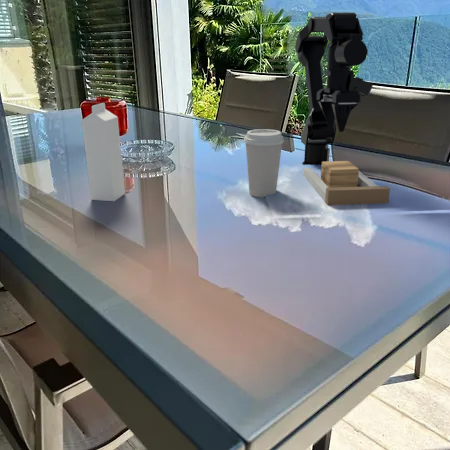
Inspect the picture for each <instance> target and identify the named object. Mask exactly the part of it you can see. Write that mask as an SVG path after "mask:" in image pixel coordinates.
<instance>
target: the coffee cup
mask: <svg viewBox="0 0 450 450" xmlns="http://www.w3.org/2000/svg"><path fill="white" fill-rule="evenodd" d="M243 143H245V151H246V166H247V176H248V177H247V178H248V191H249V195H250V196H252V197H256V198H261V199H262V198H266V196H271V195H274V194H276V193H277V187H278V181H279V179H278V178H279V171H280V170H279V169H280V162H281V153H282V146H283V143H285V139H284V136H283V135H282V132H281V130H276V129H268V128H267V129H266V128H265V129H264V128H261V129H260V128H259V129H251V130H248V131H247V132H246V134H245V136H244V138H243Z"/></svg>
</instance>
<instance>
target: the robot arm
mask: <svg viewBox="0 0 450 450" xmlns="http://www.w3.org/2000/svg"><path fill="white" fill-rule="evenodd" d="M357 16H358V15H357V13H356V12H329V13H328V14H326V15H325V16H312V17H309V18H308V21H307V24H306V25H305V26H304V27H303V28H302V29H301V30H300V31H298V35H297V36H296V37H297V38H296V41H295V44H294V45H295V47H294V48H295V52H296V54H297V59H298V61H299V62H300V64H301V65H302V66H303V67H304V72H305V73H304V74H305V83H306V89H307V91H306V92H307V99H308V108H309V109H308V110H309V114H308V116H307V118H306V120H305V123H304V124H305V125H304V127H303V130H302V132H301V134H300V142H301V143H302V144H303V145H304V161H303V162H302V165H304V166H305V165H306V166H308V165H311V166H312V165H315V166H321V165H322V162H326V161H330V154H331V153H330V151H331V148H329V145H333V144H334V142H335V137H336V133H337V129H338V132H339V133H343V132H345V128H346V125H347V124H348V123H347V122H348V119H349V117H350V114H351V112H352V110H353V109H355V108H356V107H358V106H359V103H362V97H368V98H369V96H370V93H371V91H372V88H373V86H374V84H373V83H370V82H368V81H365V80H364V79H363V78H361V77H359V76H355V72H354V70H351V68H352V67H355V66H360V65H361V64H363V63H364V62H365V60H366V59H367V57H368V52H369V51H368V48H367V45H366V43H365V42H364V41H363V39H364V37H363V36H364V32H363V29H362V27H361V24H360V19H359V18H358V17H357ZM312 33H323V35H311V34H312ZM326 49H328V50H327V68H326V69H327V70H325V71H324V76H326V87H324V83H323V81H324V80H323V73H322V66H321V65H322V64H321V63H322V62H321V61H322V59H323V57H324V55H325V52H326ZM336 126H337V127H336Z"/></svg>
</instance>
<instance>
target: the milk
mask: <svg viewBox="0 0 450 450" xmlns="http://www.w3.org/2000/svg"><path fill="white" fill-rule="evenodd" d="M118 119H119V117H118V116H117V115H115V114H114V113H113V112H111V111H110V110H108V109H106V103H105V102H101V103H96V104H94V105H92V106H91V113H90V114H89V115H87V116H86V117H84V118H82V119H81V126H82V136H83V141H84V142H83V143H84V148H85V149H84V150H85V157H86V165H87V174H88V182H89V190H90V198H91V200H92V201H102V202H103V201H104V202H116V201H117V200H119V199H120V198H121V197H123V196H124V195H126V190H125V180H124V169H123V159H122V150H121V149H122V148H121V140H120V138H121V137H120V128H119V126H120V125H119V120H118Z"/></svg>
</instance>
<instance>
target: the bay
mask: <svg viewBox="0 0 450 450" xmlns="http://www.w3.org/2000/svg"><path fill="white" fill-rule="evenodd" d="M302 176H303V177H304V178H305V180H306V181H307V182H308V183H309V184H310V186H311V187H312V189H314V191H315V192H316V193H317V194H318V196H319V197H320V198H321V199H322V201H323V202H324V203H325V204H326V206H339V205H341V206H342V205H345V206H346V205H375V204H389V201H390V200H389V199H390V193H391V188H390V187H388V186H387V185H378V184H376V183H375V182H374V181H372V180H371V179H370V178H369V177H367V176H366V175H364V173H362V172H361V171H360V170H359V175H358V185H357V187H336V188H328V186H327V185H326V184H325V183H324V182H323V181H322V180H321V177H320V176H318V174H316V172H315V171H314V170H313V169H312V167H309V168H306V167H305V168H303V173H302Z"/></svg>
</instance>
